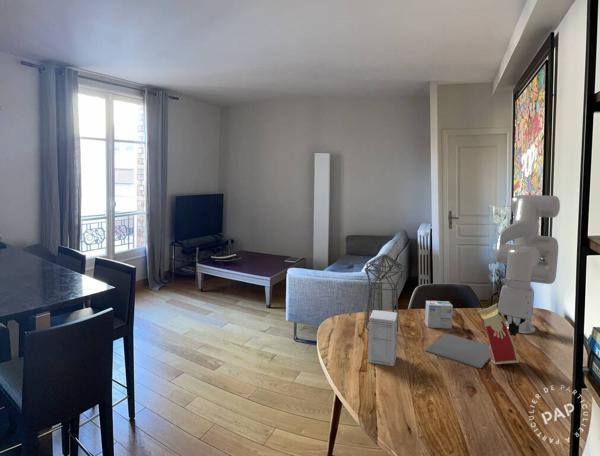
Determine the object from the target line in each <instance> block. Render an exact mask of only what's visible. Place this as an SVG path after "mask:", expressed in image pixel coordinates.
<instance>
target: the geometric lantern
mask: <svg viewBox="0 0 600 456" xmlns="http://www.w3.org/2000/svg"><path fill="white" fill-rule="evenodd" d="M379 261H380V263H379V264H377V263H378V262H379ZM386 263H387V265H386ZM365 266H366V267H365V268H364V271H365V274H366V276H367V282H368V285H369V287H368V295H367V306H366V307H367V308H366V317H365V326H364V327H365V330H367V331H368V332H369V327H368V326H369V318H370V316H371V313H372V311H373V310H375V300H376V299H375V297H376V296H375V295H376V290H385V291H391V312H395V311H396V313H398V315H397V333H398V332H399V328H400V327H399V326H400V325H399V322H400V321H399V299H398V298H399V297H398V293H399V292H398V290H399V283H400V281H401V278H402V279H403V273H405V270H404V269H403V265H402V264H401V263H399V262H398V261H397V260H395V259H394V258H393V257H390V256H389V255H388V254H386V253H383V254H380V255H379V256H377V257H375V258H374V259H372V260H370V261H369V262H367V263H366V264H365ZM391 267H392V268H391ZM372 268H375V269H372ZM387 268H388V271H387ZM395 269H396V270H395ZM374 272H376V273H377V274H378V275H377V274H375V273H374ZM382 273H384V274H385V277H381V274H382ZM370 274H371V275H373V276H374V277H376V279H375V281H373V282H372V280H371V277H370ZM398 274H399V276H398V277H397V280H396V283H394V281H393V280H392V278H391V277H392V276H395V275H398ZM387 275H388V276H387ZM389 279H390V280H391V282H390V280H389ZM378 280H387V282H381V281H380V282H379V281H378ZM376 284H386V285H389V286H390V288H381V287H379V288H378V287H376ZM395 309H396V310H395Z"/></svg>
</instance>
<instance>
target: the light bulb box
mask: <svg viewBox="0 0 600 456" xmlns="http://www.w3.org/2000/svg"><path fill="white" fill-rule="evenodd" d="M453 310H454V306H453V304H452V303H451V302H450V301H447V300H445V301H444V300H443V301H440V300H425V313H424V314H425V315H424V323H425V325H426V327H427V328H434V329H451V330H452V328H453V312H454V311H453Z"/></svg>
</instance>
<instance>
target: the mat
mask: <svg viewBox="0 0 600 456" xmlns="http://www.w3.org/2000/svg"><path fill="white" fill-rule="evenodd" d="M425 352H426V353H428V354H431V355H434V356H437V357H441V358H444V359H446V360H447V359H448V360H451V361H454V362H457V363H460V364H463V365H465V366H469V367H472V368H475V369H479V370H481V368H482V369H483V368H484V366H485V365H486V364H487V363H488V362H489V360H491V358H490V352H489V346H488V344H487V343H482V342H478V341H475V340H471V339H469V338H464V337H461V336H458V335H453V334H449V333H445V334H444V335H443V336H441V338H439V339H438V340H437V341H435V342H434V343H433V344H431V345H430V346H429V347H427V348H426V349H425Z"/></svg>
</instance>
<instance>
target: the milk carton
mask: <svg viewBox="0 0 600 456" xmlns="http://www.w3.org/2000/svg"><path fill="white" fill-rule="evenodd" d="M476 312H477V313H478V314H479V316H480V317H481V318H482V319H483V322H484V323H483V324H484V327H485V333H486V339H487V345H488V346H489V352H490V362H492V363H493V364H494V365H502V364H517V363H519V355H518V351H517V348H516V345H515V342H514V341H515V340H514V339H513V337H512V335H510V332H509V331H508V328H507V325H506V323H505V322H506V321H505V320H504V319H503V318H504V317H502V316H500V315H499V314H498V303H494V304H493V305H491V306H489V307H487V308H484V309H482V310H480V309H479V310H478V311H476Z"/></svg>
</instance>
